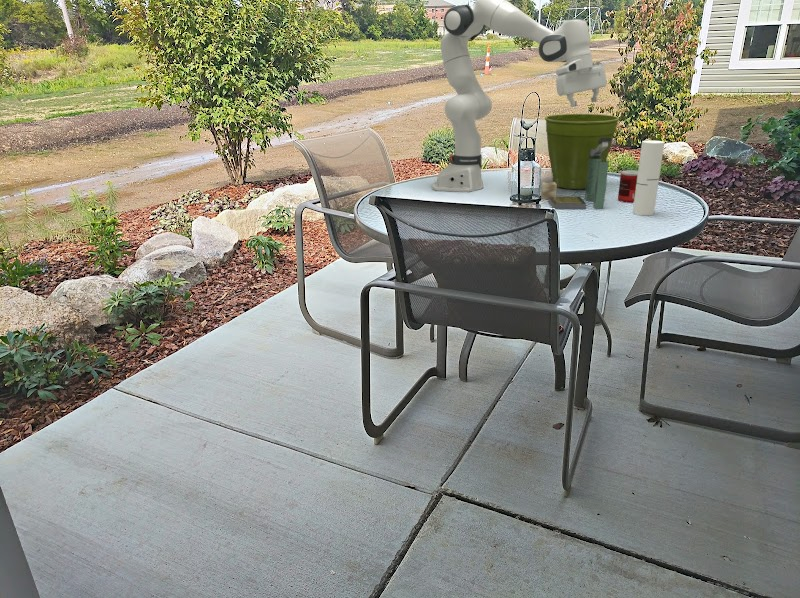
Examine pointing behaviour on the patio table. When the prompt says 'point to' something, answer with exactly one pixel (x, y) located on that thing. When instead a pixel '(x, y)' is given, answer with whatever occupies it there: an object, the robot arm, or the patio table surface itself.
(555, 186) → the block
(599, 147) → the press lever
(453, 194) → the patio table surface
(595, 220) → the patio table surface
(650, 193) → the cylindrical container
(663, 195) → the patio table surface
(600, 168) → the press base
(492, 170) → the patio table surface
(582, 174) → the plant pot
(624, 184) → the canned food
